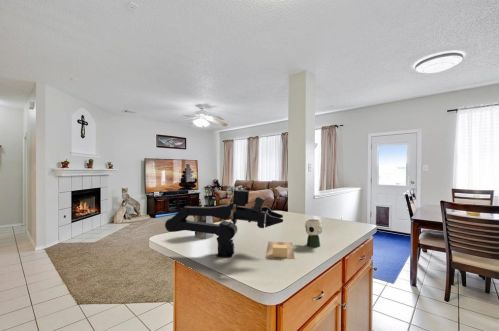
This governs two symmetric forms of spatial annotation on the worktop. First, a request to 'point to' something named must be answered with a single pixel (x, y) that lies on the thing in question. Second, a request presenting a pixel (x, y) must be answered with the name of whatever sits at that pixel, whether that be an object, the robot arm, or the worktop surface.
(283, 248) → the block
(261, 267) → the worktop surface
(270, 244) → the board
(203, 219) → the coffee box
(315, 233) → the character mug
